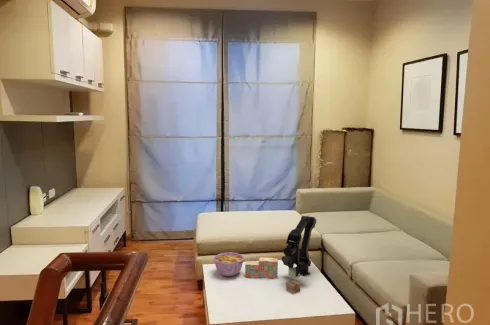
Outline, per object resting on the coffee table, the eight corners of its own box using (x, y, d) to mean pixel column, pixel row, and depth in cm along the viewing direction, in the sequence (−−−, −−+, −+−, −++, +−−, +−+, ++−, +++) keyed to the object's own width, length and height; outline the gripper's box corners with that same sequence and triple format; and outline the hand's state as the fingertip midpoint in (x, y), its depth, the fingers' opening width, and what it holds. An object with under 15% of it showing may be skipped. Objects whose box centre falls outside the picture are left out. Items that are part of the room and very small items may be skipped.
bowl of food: (246, 279, 248) (246, 262, 247) (215, 281, 245) (215, 264, 243) (241, 267, 268) (241, 251, 266) (212, 269, 264) (212, 253, 263)
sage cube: (294, 274, 247) (294, 267, 247) (299, 277, 243) (299, 269, 243) (288, 276, 245) (288, 268, 244) (293, 279, 241) (293, 271, 240)
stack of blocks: (244, 278, 250) (244, 260, 249) (246, 274, 257) (245, 256, 255) (277, 279, 248) (277, 261, 247) (277, 275, 254) (277, 257, 253)
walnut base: (293, 287, 235) (293, 280, 234) (300, 291, 230) (300, 283, 229) (286, 290, 231) (286, 282, 231) (292, 294, 227) (292, 286, 226)
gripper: (275, 250, 245) (275, 273, 247) (295, 258, 230) (294, 283, 232) (288, 246, 251) (288, 269, 253) (308, 255, 236) (307, 279, 238)
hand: (294, 275), depth 244 cm, fingers closed on sage cube, 5 cm apart
